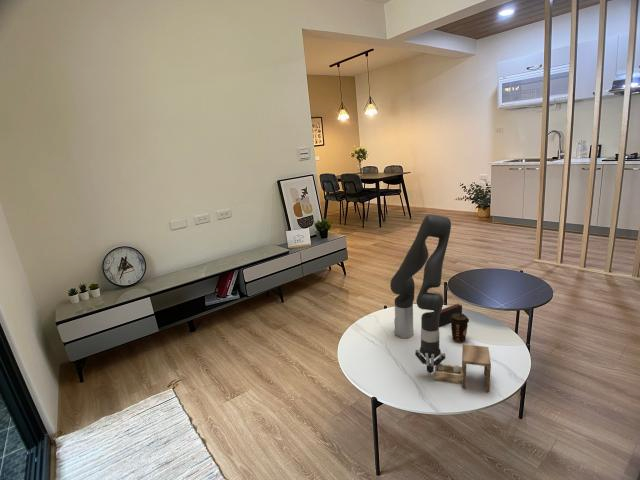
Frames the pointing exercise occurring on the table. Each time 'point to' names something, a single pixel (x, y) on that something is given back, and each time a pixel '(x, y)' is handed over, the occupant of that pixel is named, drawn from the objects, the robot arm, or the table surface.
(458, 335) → the coffee cup
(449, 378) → the tray
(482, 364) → the wooden stool
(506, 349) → the table surface
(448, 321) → the radio
